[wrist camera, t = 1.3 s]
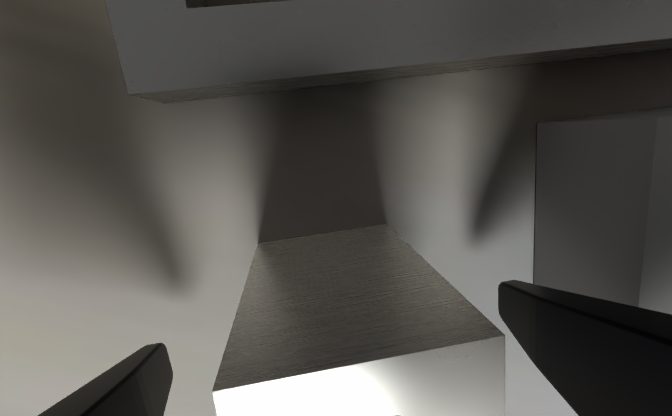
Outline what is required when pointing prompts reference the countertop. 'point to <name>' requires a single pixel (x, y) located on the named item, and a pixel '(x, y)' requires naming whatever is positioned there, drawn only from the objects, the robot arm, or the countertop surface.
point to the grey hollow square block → (606, 207)
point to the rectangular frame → (361, 40)
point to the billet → (357, 335)
